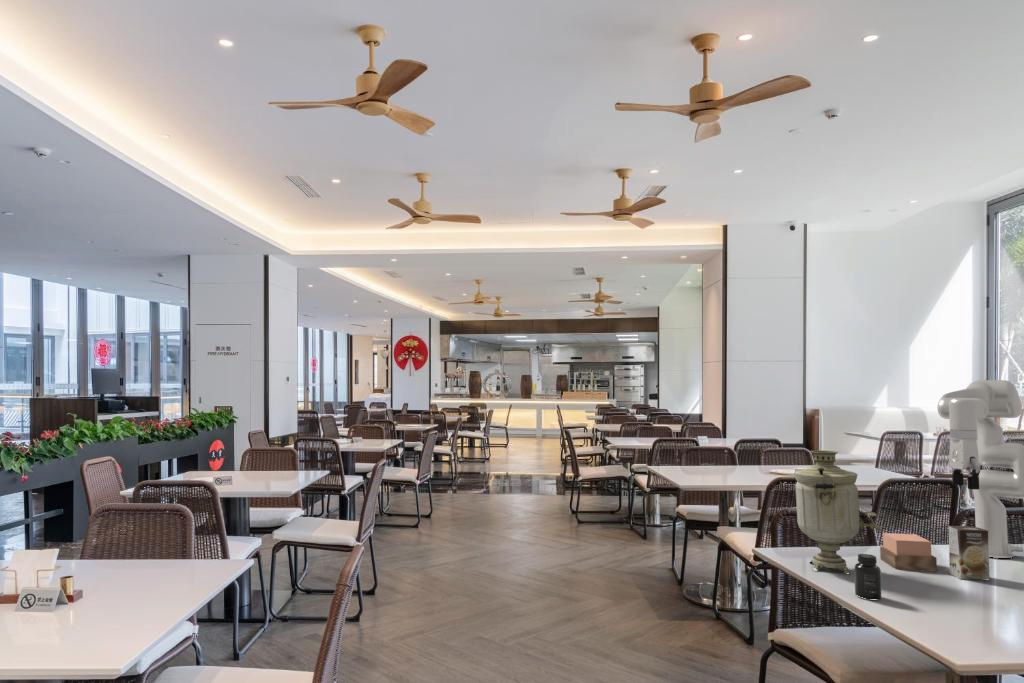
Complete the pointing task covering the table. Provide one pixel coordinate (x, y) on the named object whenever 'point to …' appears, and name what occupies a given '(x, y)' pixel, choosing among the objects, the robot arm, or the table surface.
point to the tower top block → (907, 544)
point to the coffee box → (968, 552)
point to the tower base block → (908, 561)
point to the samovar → (828, 508)
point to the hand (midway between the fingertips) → (965, 486)
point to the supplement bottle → (867, 577)
